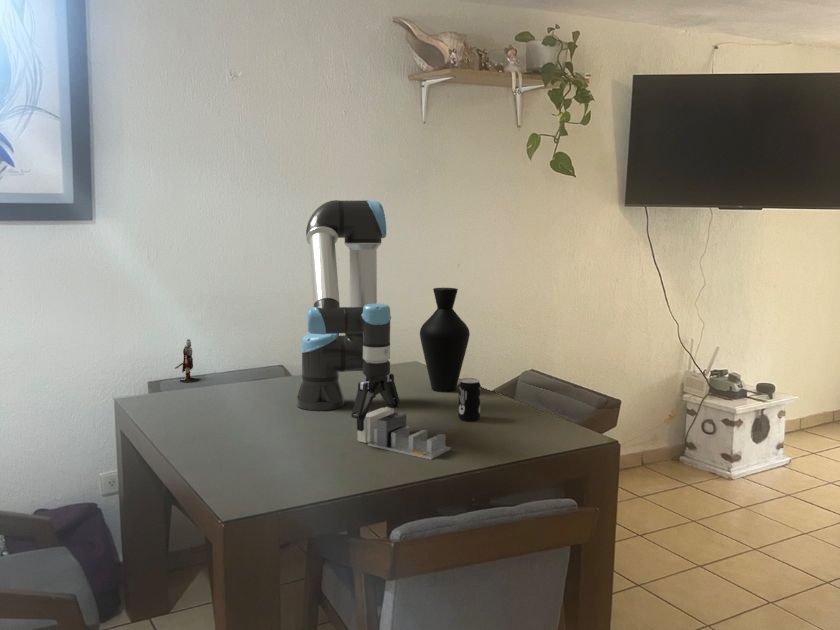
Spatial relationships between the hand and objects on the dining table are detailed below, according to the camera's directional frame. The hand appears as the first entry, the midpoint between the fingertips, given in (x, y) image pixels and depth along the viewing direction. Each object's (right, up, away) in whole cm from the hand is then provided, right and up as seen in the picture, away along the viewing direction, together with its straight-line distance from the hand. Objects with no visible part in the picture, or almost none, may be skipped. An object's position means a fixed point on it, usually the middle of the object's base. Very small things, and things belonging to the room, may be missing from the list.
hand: (376, 435), depth 222 cm
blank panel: (0, 0, 0) cm, 0 cm away
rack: (+9, -2, -9) cm, 13 cm away
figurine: (-70, +10, +62) cm, 94 cm away
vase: (+20, +8, +54) cm, 58 cm away
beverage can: (+27, +2, +18) cm, 33 cm away
